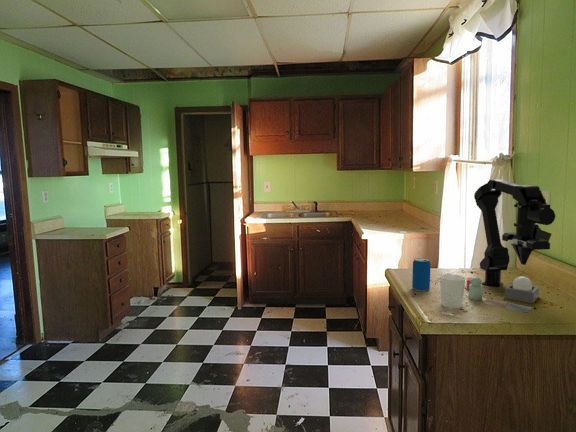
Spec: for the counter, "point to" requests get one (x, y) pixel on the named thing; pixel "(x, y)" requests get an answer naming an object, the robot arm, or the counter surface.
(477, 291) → the pawn
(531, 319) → the counter surface
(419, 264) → the beverage can
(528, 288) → the dome
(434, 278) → the counter surface
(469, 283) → the red die
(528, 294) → the grey square tray
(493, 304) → the game track
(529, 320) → the counter surface
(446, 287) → the white cup
